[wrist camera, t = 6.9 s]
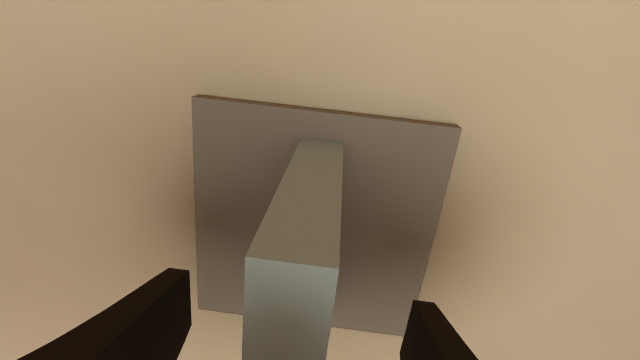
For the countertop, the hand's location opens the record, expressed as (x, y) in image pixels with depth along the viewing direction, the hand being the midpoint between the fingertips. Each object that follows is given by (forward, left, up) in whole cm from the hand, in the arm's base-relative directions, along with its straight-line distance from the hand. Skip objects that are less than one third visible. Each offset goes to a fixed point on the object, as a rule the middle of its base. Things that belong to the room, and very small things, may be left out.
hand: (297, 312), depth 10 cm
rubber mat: (0, 0, -5) cm, 5 cm away
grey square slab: (0, 0, -5) cm, 5 cm away
